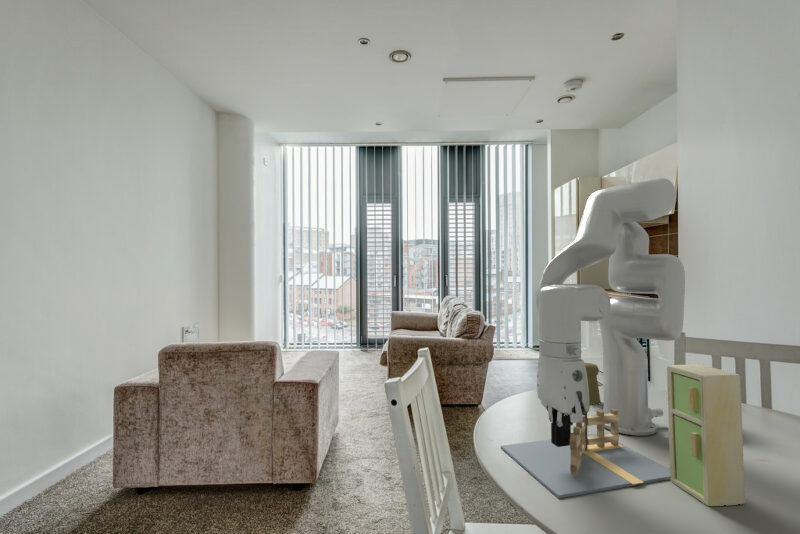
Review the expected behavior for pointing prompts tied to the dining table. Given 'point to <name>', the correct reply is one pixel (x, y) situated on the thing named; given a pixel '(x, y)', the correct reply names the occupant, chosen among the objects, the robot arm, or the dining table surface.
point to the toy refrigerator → (706, 433)
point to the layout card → (585, 467)
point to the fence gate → (577, 446)
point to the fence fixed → (602, 428)
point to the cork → (593, 383)
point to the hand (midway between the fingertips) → (561, 444)
